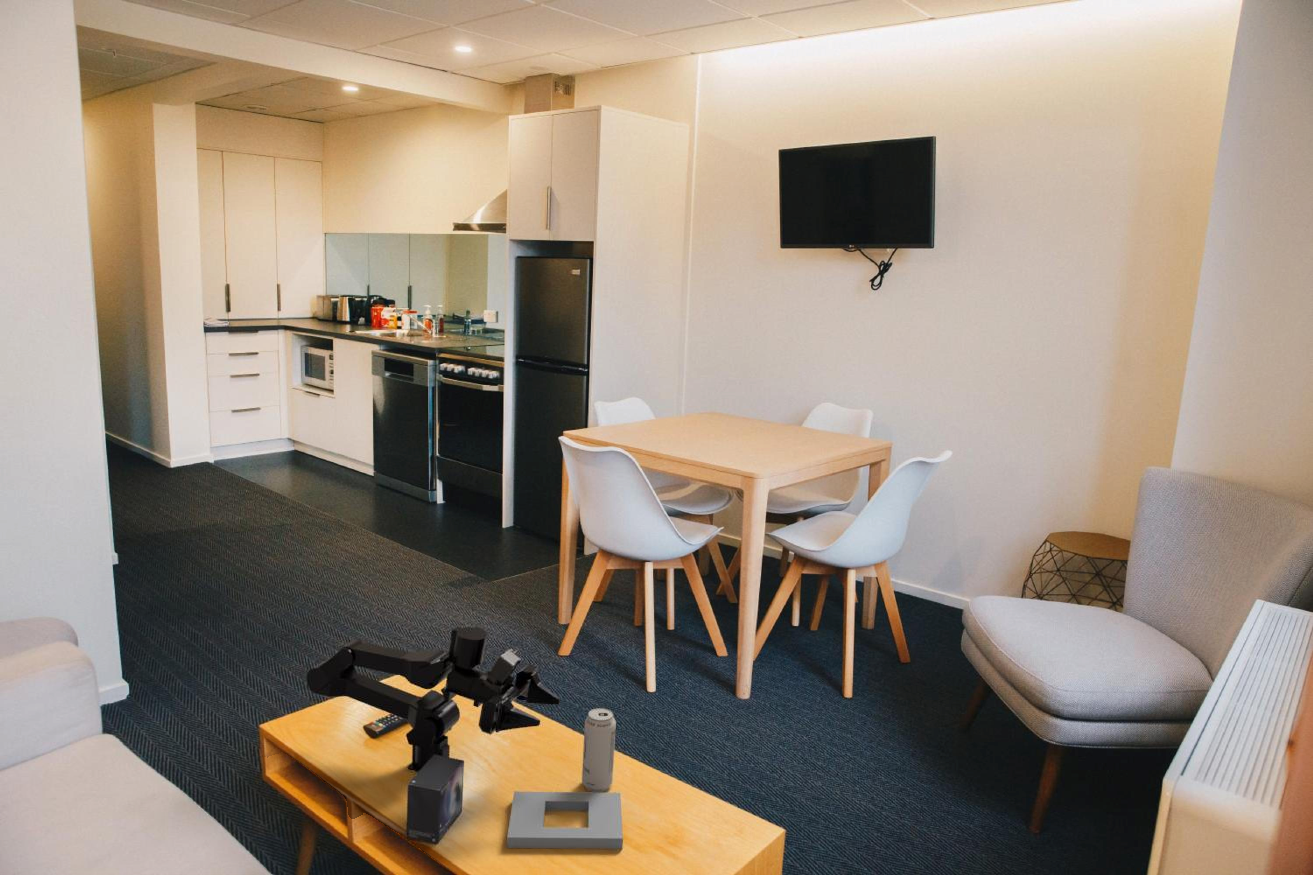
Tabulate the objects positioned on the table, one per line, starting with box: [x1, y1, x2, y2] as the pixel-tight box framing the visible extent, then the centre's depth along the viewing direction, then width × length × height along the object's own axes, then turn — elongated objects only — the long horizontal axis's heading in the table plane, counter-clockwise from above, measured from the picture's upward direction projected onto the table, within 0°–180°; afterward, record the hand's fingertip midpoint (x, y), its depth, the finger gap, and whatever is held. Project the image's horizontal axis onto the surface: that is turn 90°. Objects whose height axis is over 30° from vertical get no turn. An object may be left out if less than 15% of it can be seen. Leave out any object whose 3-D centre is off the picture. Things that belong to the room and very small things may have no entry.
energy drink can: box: [581, 707, 617, 793], centre depth 170 cm, size 6×6×15 cm
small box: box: [405, 755, 465, 845], centre depth 155 cm, size 11×6×10 cm, turn 168°
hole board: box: [506, 790, 624, 850], centre depth 158 cm, size 20×14×2 cm
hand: (549, 711), depth 165 cm, fingers open, 9 cm apart
